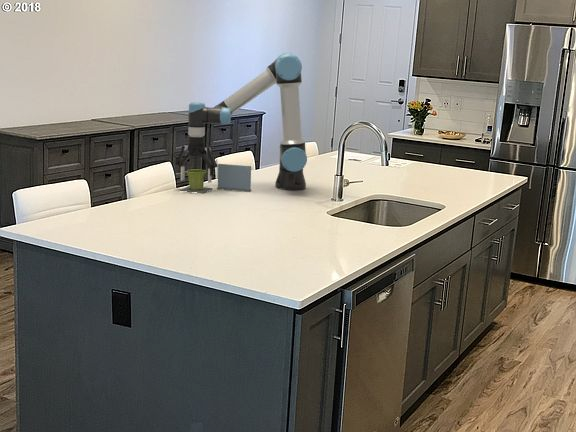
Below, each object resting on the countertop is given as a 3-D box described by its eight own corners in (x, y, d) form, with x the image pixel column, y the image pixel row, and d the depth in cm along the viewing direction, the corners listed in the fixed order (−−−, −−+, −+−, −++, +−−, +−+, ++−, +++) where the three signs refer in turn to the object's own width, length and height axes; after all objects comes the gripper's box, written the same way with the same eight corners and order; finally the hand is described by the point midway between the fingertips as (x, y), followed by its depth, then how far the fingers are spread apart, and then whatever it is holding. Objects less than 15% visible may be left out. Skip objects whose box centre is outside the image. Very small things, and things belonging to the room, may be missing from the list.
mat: (212, 189, 367) (212, 188, 367) (203, 193, 356) (203, 192, 355) (188, 187, 370) (188, 186, 370) (179, 191, 358) (179, 190, 358)
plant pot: (208, 187, 367) (208, 169, 365) (204, 191, 358) (204, 172, 356) (188, 186, 368) (189, 168, 366) (184, 190, 358) (184, 171, 357)
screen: (251, 190, 366) (251, 165, 364) (249, 191, 363) (249, 166, 361) (219, 188, 370) (219, 163, 368) (217, 189, 367) (217, 164, 365)
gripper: (224, 136, 358) (223, 182, 362) (174, 133, 364) (174, 178, 368) (219, 138, 351) (218, 184, 355) (168, 135, 357) (168, 180, 361)
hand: (196, 181), depth 362 cm, fingers open, 13 cm apart
